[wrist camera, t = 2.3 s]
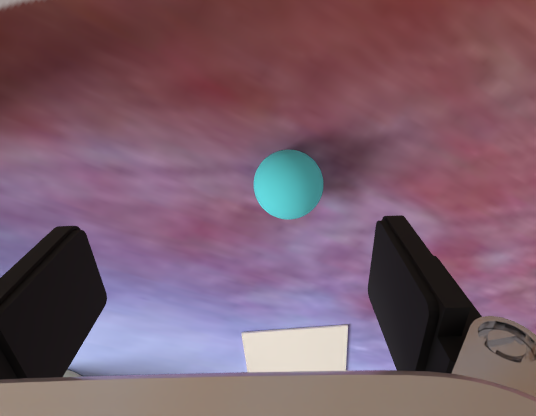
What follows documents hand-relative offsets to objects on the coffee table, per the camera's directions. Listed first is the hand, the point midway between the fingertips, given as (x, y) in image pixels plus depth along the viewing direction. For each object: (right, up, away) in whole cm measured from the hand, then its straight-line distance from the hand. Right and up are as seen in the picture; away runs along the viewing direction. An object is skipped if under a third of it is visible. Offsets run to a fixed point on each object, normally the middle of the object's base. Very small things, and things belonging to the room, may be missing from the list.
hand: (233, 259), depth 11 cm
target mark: (+5, -17, +30) cm, 35 cm away
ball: (+3, +4, +16) cm, 16 cm away
